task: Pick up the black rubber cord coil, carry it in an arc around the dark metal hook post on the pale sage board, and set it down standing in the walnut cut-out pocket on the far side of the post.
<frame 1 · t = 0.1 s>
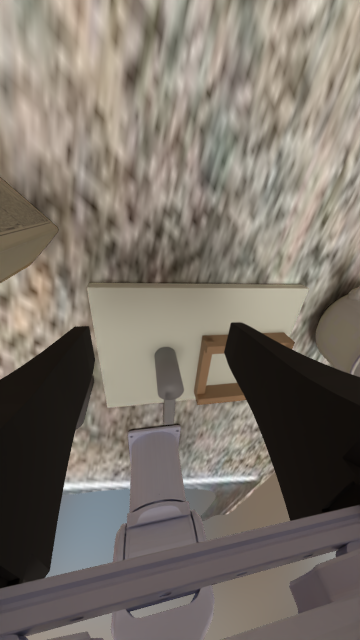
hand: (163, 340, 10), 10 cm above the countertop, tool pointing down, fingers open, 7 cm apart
skincare box: (8, 216, 15), on the countertop
board: (197, 347, 24), on the countertop
teacup: (340, 306, 25), on the countertop
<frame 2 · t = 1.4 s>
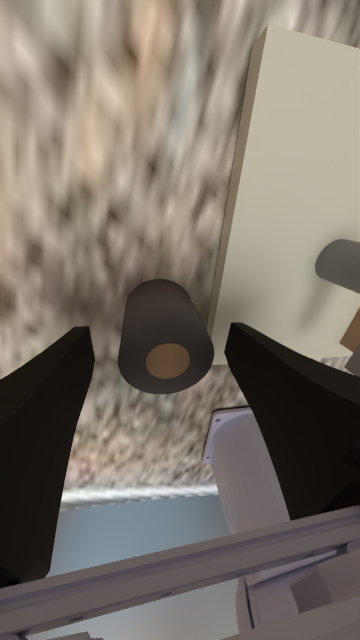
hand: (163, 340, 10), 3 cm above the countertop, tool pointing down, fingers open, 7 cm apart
cord coil: (159, 310, 13), on the countertop
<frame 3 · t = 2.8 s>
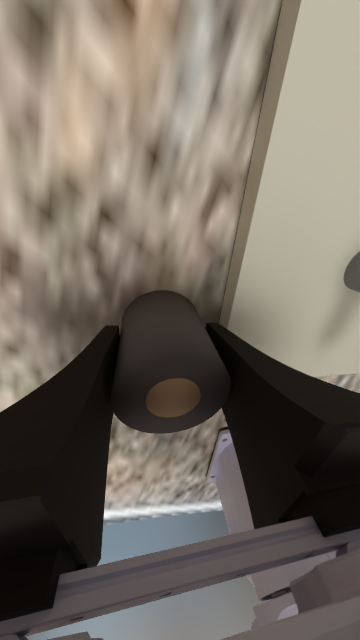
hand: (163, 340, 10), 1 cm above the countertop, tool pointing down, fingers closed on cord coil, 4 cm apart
cord coil: (161, 326, 12), on the countertop, touching gripper
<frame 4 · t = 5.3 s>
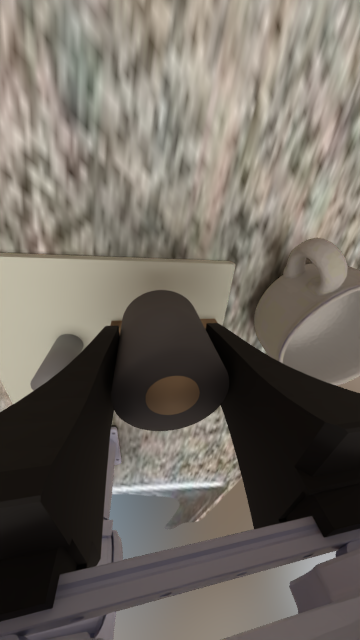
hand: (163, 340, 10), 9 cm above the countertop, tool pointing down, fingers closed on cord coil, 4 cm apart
cord coil: (160, 325, 12), point 8 cm above the countertop, touching gripper
board: (115, 335, 21), on the countertop
teacup: (284, 290, 22), on the countertop
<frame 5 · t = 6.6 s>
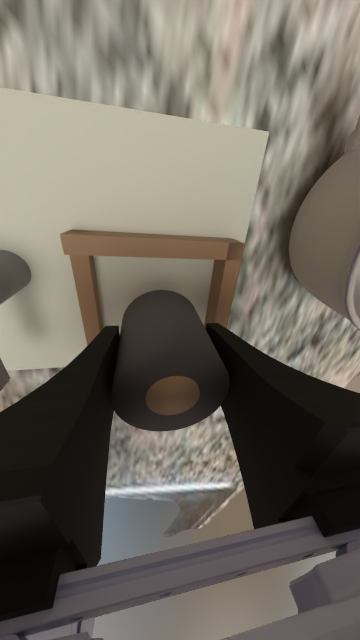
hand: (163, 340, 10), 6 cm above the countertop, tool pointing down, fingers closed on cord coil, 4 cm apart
cord coil: (161, 325, 12), point 5 cm above the countertop, touching gripper
board: (83, 266, 14), on the countertop
teacup: (331, 205, 15), on the countertop
when the fingers open (4 cm above the countertop, at t = 7.9 s): cord coil drops 1 cm, resting on board.
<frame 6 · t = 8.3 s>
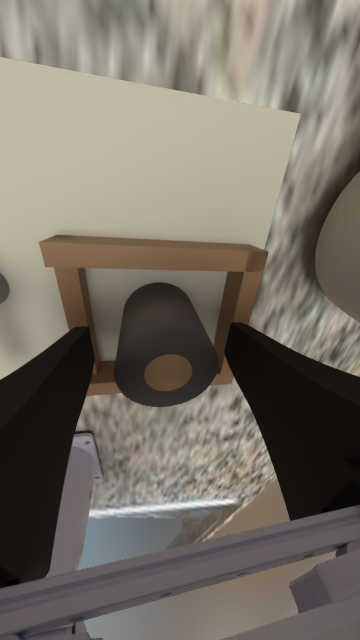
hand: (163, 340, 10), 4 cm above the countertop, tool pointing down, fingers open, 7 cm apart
cord coil: (159, 315, 13), point 1 cm above the countertop, touching board
board: (73, 277, 12), on the countertop
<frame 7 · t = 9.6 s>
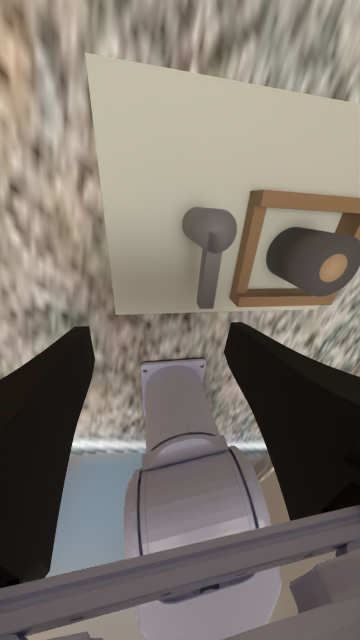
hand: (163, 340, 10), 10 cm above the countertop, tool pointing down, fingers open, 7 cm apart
cord coil: (288, 252, 18), point 1 cm above the countertop, touching board
board: (237, 225, 18), on the countertop
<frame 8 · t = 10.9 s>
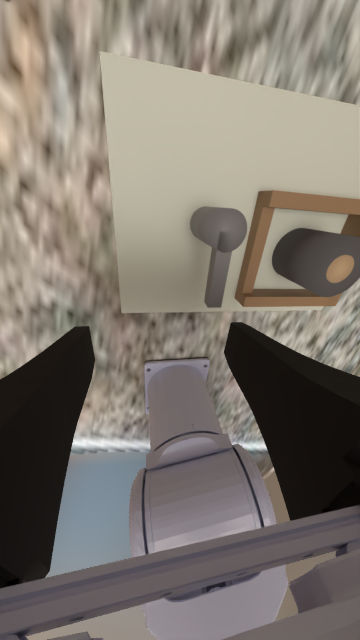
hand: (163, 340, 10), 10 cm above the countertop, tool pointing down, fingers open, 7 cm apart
cord coil: (294, 253, 19), point 1 cm above the countertop, touching board
board: (244, 225, 18), on the countertop
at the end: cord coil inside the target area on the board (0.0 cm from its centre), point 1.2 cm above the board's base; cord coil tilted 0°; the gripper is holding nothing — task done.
